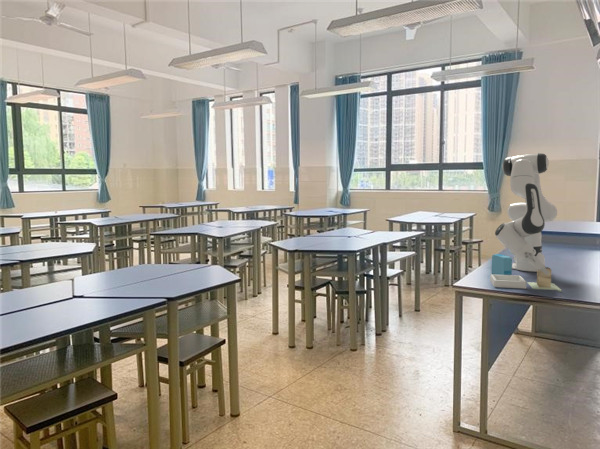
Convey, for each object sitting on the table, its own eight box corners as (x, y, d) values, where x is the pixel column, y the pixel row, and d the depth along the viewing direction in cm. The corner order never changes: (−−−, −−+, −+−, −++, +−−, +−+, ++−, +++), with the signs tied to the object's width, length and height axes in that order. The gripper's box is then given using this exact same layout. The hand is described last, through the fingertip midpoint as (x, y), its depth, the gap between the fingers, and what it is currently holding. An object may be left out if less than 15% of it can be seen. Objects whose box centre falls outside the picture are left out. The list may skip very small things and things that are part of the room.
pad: (526, 283, 218) (526, 282, 218) (553, 284, 215) (553, 283, 215) (533, 290, 205) (533, 288, 205) (561, 291, 201) (561, 290, 201)
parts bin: (490, 282, 223) (490, 274, 223) (520, 283, 219) (520, 275, 219) (494, 288, 210) (494, 280, 209) (526, 290, 206) (526, 281, 205)
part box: (536, 284, 213) (537, 266, 212) (547, 284, 212) (548, 266, 211) (539, 286, 208) (539, 268, 207) (550, 287, 207) (551, 268, 206)
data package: (511, 280, 227) (512, 257, 226) (503, 280, 226) (504, 257, 225) (499, 275, 239) (499, 253, 237) (491, 275, 238) (491, 254, 237)
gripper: (533, 250, 200) (556, 272, 198) (524, 244, 220) (545, 263, 218) (522, 259, 202) (545, 281, 200) (514, 252, 221) (535, 272, 219)
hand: (545, 272), depth 209 cm, fingers open, 8 cm apart
